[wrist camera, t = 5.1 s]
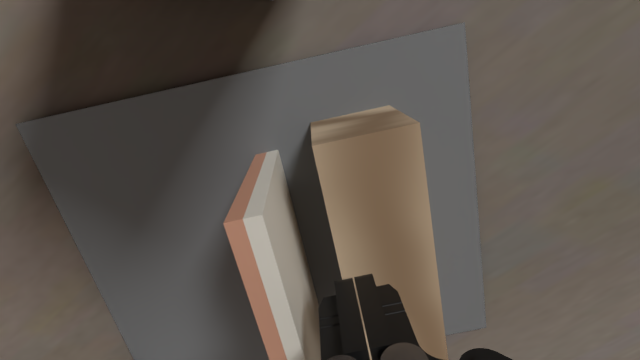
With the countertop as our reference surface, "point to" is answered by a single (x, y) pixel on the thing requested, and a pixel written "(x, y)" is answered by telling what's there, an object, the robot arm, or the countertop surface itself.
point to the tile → (274, 262)
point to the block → (382, 211)
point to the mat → (227, 176)
